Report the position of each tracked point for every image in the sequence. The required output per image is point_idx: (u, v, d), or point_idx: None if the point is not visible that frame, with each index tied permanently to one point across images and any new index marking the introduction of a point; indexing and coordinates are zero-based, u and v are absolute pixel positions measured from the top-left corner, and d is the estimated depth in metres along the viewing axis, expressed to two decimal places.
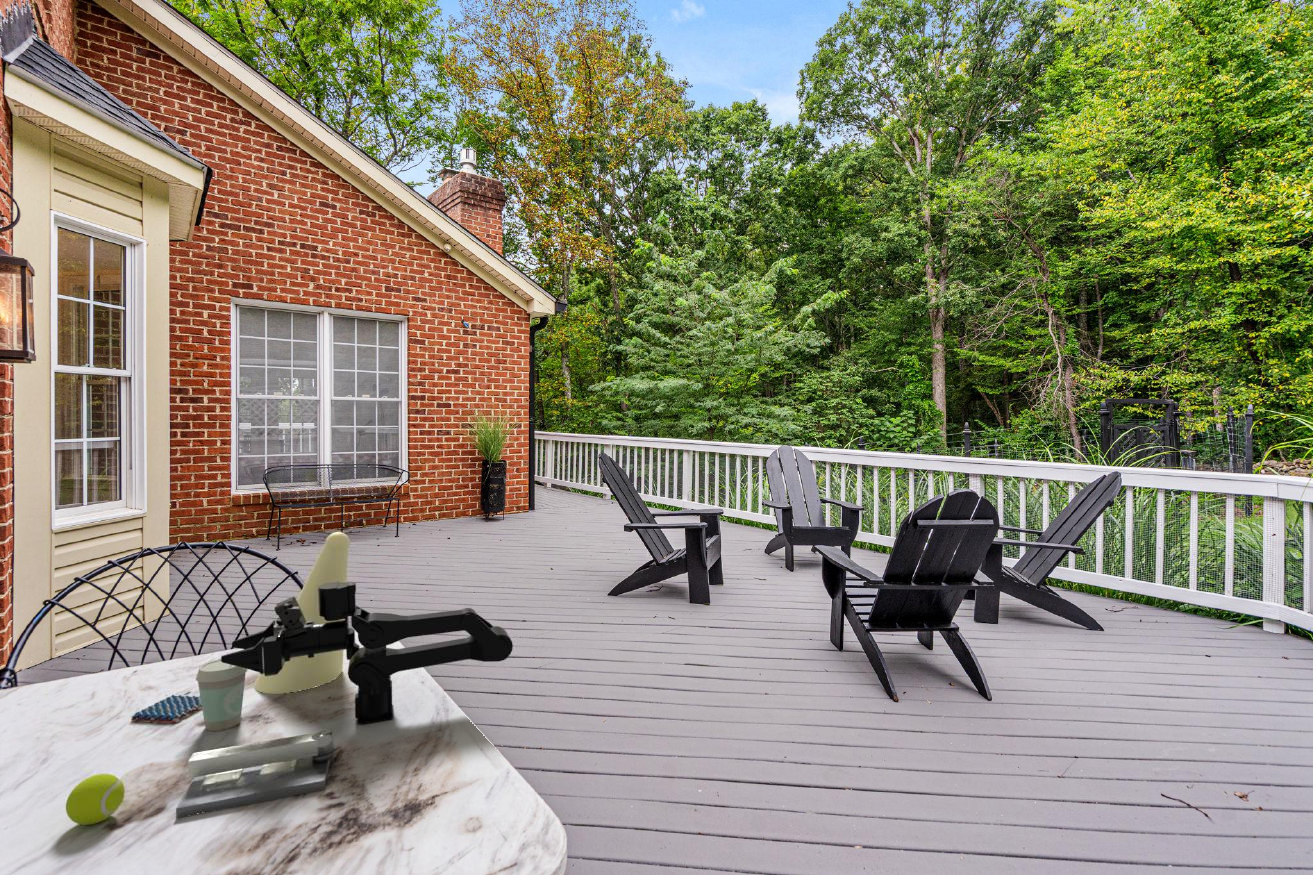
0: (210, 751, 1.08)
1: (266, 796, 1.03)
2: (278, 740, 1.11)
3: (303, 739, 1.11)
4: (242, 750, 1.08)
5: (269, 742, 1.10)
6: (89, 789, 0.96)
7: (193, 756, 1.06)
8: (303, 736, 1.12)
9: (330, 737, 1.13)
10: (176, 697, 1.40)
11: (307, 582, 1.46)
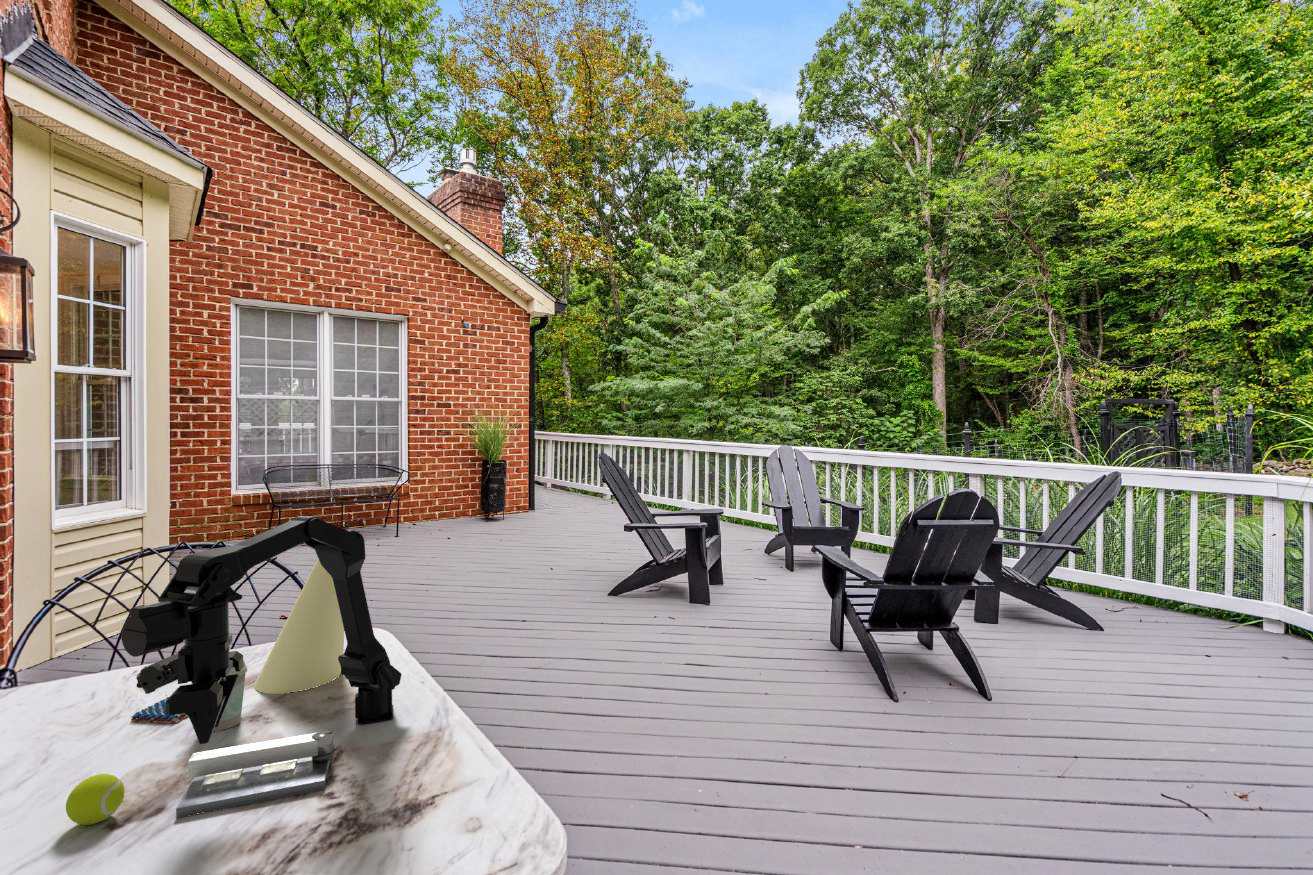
0: (210, 751, 1.08)
1: (266, 796, 1.03)
2: (278, 740, 1.11)
3: (303, 739, 1.11)
4: (242, 750, 1.08)
5: (269, 742, 1.10)
6: (89, 789, 0.96)
7: (193, 756, 1.06)
8: (303, 736, 1.12)
9: (330, 737, 1.13)
10: None
11: (307, 582, 1.46)
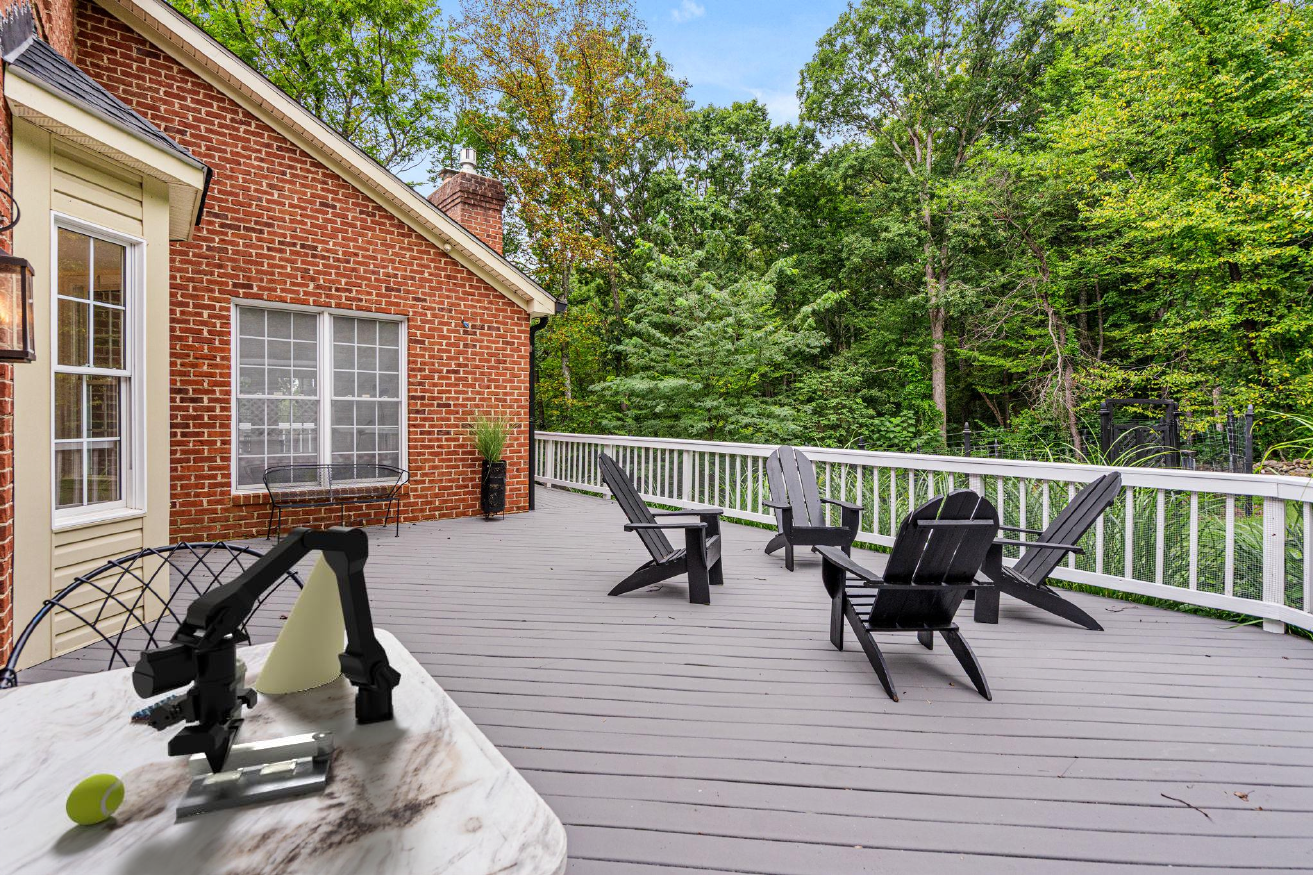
0: None
1: (266, 796, 1.03)
2: (278, 740, 1.11)
3: (303, 739, 1.11)
4: (242, 749, 1.08)
5: (269, 741, 1.11)
6: (89, 789, 0.96)
7: (194, 755, 1.06)
8: (303, 736, 1.13)
9: (330, 737, 1.12)
10: None
11: (307, 582, 1.46)
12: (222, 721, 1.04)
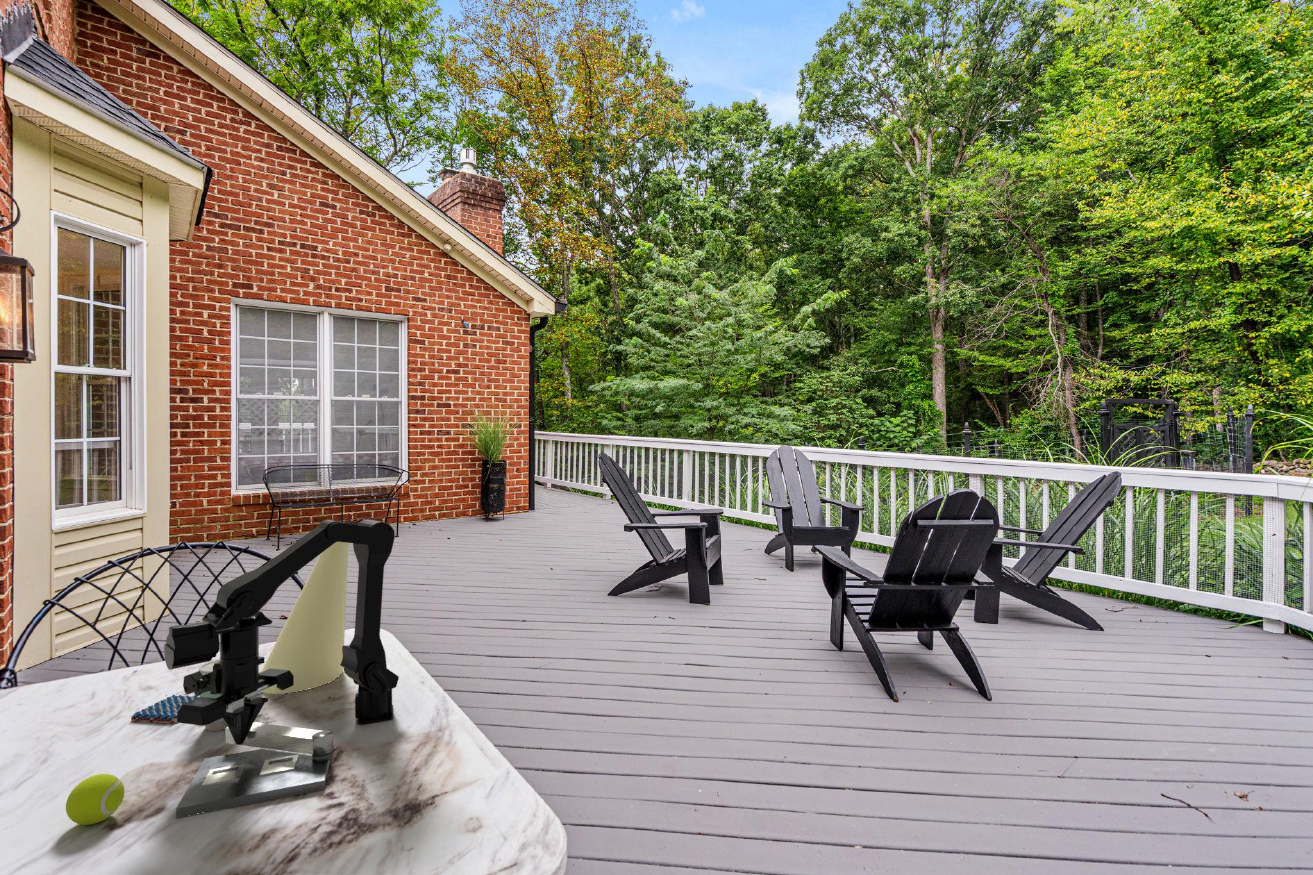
0: None
1: (266, 796, 1.03)
2: (293, 729, 1.15)
3: (306, 734, 1.13)
4: (262, 730, 1.15)
5: (286, 728, 1.15)
6: (89, 789, 0.96)
7: None
8: (311, 731, 1.14)
9: (325, 739, 1.12)
10: (176, 697, 1.40)
11: (307, 582, 1.46)
12: (237, 698, 1.12)
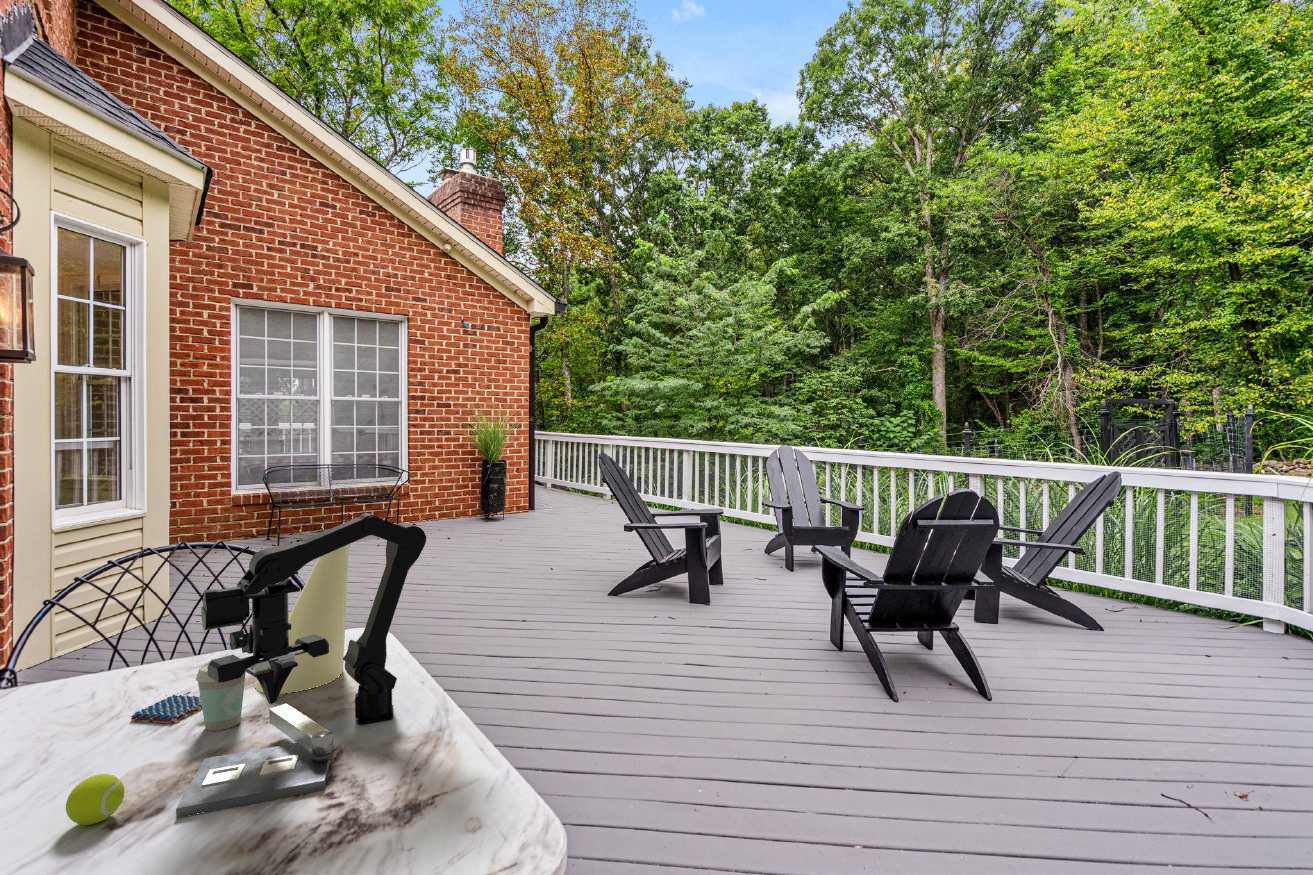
0: (288, 707, 1.24)
1: (266, 796, 1.03)
2: (310, 722, 1.18)
3: (312, 731, 1.14)
4: (289, 717, 1.20)
5: (306, 720, 1.18)
6: (89, 789, 0.96)
7: (279, 706, 1.25)
8: (319, 728, 1.15)
9: (320, 741, 1.11)
10: (177, 697, 1.40)
11: (308, 582, 1.46)
12: (263, 660, 1.18)
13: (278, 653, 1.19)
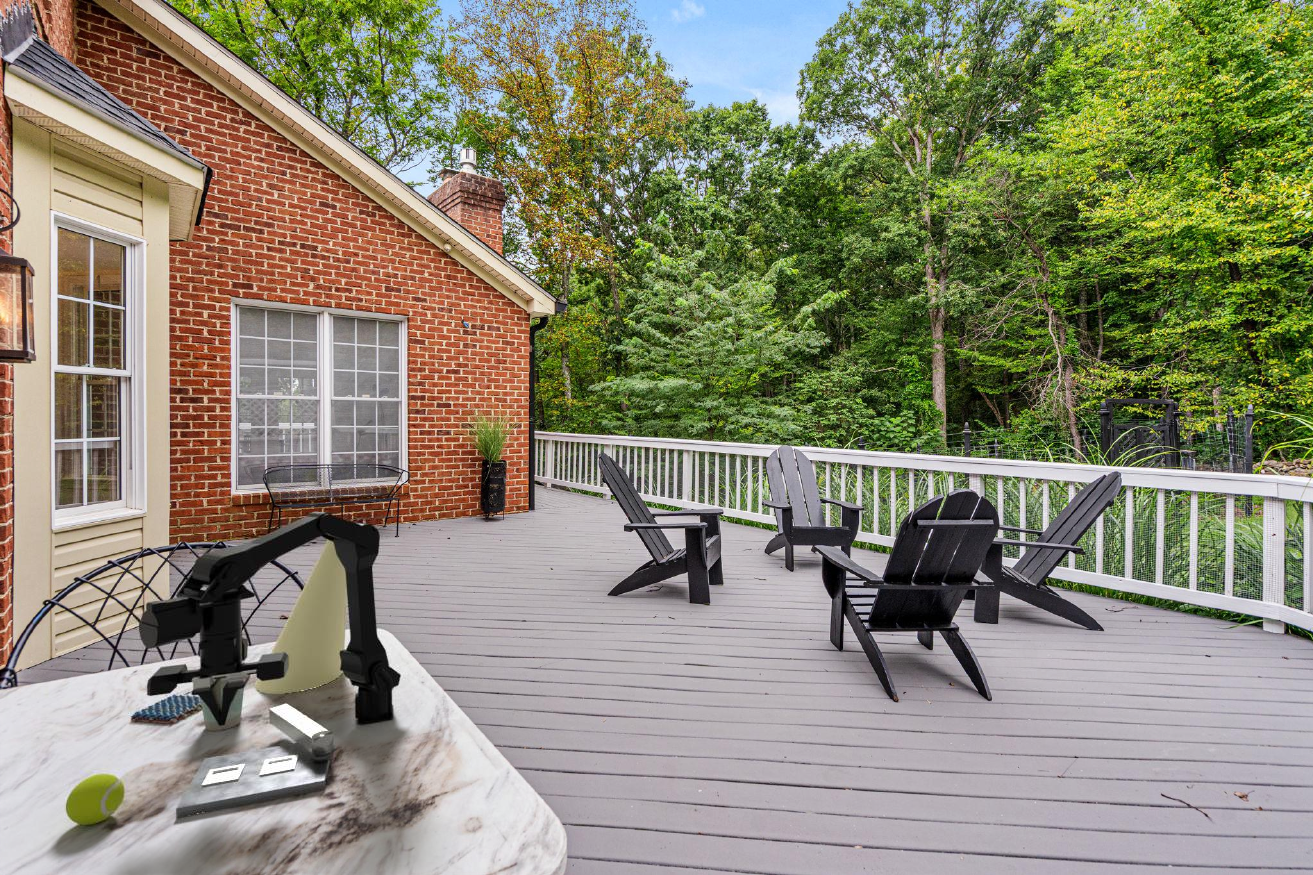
0: (288, 707, 1.24)
1: (266, 796, 1.03)
2: (310, 722, 1.18)
3: (312, 731, 1.14)
4: (289, 717, 1.20)
5: (306, 720, 1.18)
6: (89, 789, 0.96)
7: (279, 706, 1.25)
8: (319, 728, 1.15)
9: (320, 741, 1.11)
10: (177, 697, 1.40)
11: (308, 582, 1.46)
12: (205, 676, 1.05)
13: (218, 671, 1.05)
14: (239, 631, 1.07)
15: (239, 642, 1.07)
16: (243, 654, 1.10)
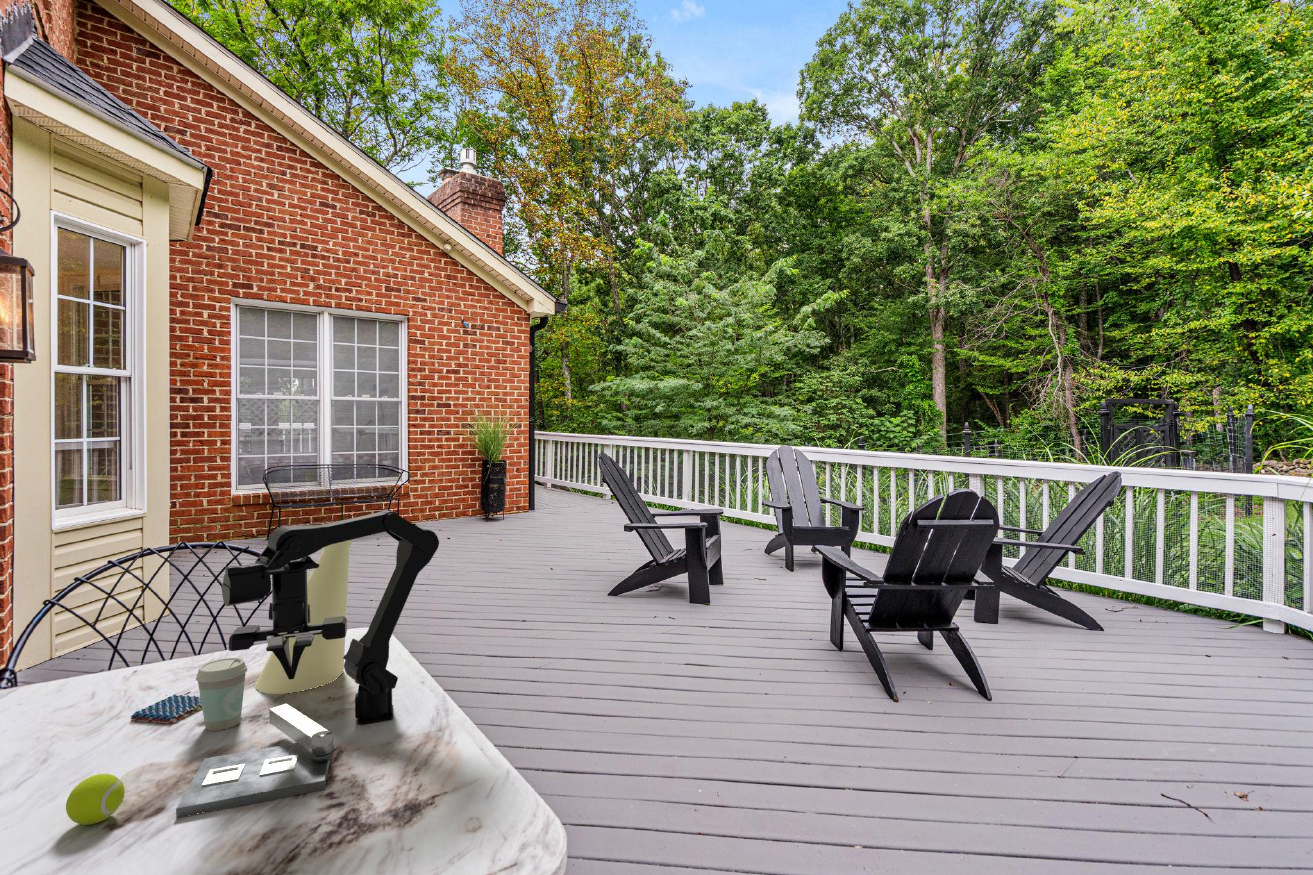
0: (288, 707, 1.24)
1: (266, 796, 1.03)
2: (310, 722, 1.18)
3: (312, 731, 1.14)
4: (289, 717, 1.20)
5: (306, 720, 1.18)
6: (89, 789, 0.96)
7: (279, 706, 1.25)
8: (319, 728, 1.15)
9: (320, 741, 1.11)
10: (177, 697, 1.40)
11: (308, 582, 1.46)
12: (277, 635, 1.19)
13: (289, 630, 1.19)
14: (306, 596, 1.22)
15: (306, 606, 1.22)
16: (308, 617, 1.24)
